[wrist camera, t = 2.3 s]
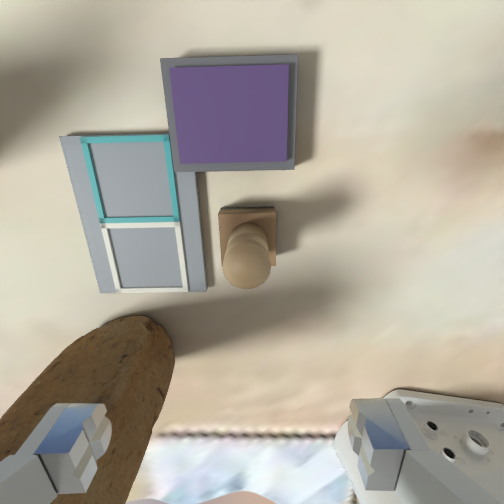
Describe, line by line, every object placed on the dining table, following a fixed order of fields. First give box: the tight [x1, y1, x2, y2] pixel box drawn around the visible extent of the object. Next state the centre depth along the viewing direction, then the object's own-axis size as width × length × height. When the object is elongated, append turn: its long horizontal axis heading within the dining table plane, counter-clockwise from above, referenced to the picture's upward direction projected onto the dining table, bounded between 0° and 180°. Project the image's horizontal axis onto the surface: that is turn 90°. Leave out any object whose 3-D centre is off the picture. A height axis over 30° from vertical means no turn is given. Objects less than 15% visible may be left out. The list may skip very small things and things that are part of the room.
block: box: [0, 316, 175, 504], centre depth 23 cm, size 11×8×20 cm
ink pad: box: [160, 54, 298, 172], centre depth 22 cm, size 10×8×2 cm
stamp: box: [218, 207, 276, 289], centre depth 23 cm, size 5×5×8 cm
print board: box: [59, 134, 207, 293], centre depth 26 cm, size 11×15×1 cm
